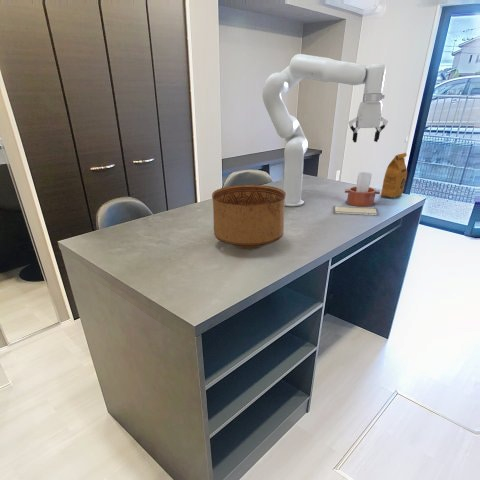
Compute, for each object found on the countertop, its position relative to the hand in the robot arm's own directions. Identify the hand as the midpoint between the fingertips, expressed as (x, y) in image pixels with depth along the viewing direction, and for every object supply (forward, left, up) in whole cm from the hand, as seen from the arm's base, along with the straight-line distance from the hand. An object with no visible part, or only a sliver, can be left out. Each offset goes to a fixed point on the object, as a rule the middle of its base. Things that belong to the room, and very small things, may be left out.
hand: (365, 141), depth 164 cm
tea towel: (0, -4, -31) cm, 31 cm away
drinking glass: (+3, +11, -31) cm, 33 cm away
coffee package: (+21, +28, -31) cm, 47 cm away
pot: (-44, -57, -31) cm, 79 cm away
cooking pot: (+3, +11, -31) cm, 33 cm away
